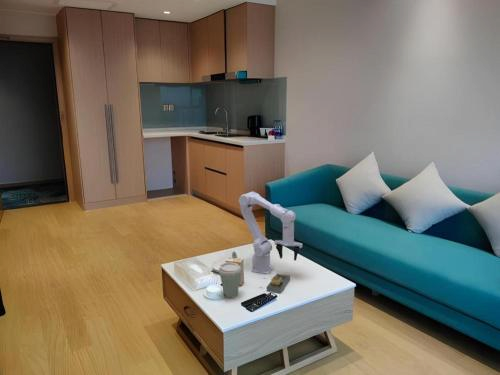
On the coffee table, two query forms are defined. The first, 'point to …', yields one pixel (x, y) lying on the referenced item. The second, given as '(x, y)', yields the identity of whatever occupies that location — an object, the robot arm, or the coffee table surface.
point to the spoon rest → (223, 260)
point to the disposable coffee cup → (230, 278)
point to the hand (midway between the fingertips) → (288, 258)
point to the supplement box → (241, 264)
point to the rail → (280, 289)
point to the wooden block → (276, 281)
